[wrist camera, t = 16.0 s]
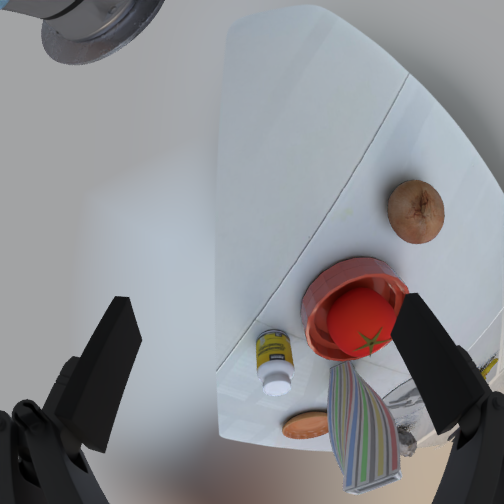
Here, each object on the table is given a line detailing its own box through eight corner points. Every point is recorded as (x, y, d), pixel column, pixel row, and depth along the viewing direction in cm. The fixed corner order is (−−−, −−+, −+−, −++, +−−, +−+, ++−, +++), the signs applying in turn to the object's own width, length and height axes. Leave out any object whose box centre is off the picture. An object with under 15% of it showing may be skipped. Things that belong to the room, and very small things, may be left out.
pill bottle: (290, 327, 50) (299, 376, 39) (287, 351, 53) (294, 397, 42) (255, 328, 50) (257, 378, 39) (255, 352, 53) (257, 399, 42)
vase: (325, 392, 61) (348, 498, 34) (305, 366, 55) (328, 495, 29) (375, 370, 58) (412, 474, 31) (362, 340, 52) (410, 466, 26)
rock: (379, 436, 77) (405, 456, 64) (397, 418, 79) (423, 437, 66) (381, 445, 84) (404, 463, 71) (397, 430, 86) (420, 446, 73)
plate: (359, 424, 72) (360, 427, 71) (402, 373, 60) (403, 377, 59) (419, 413, 75) (420, 416, 73) (462, 364, 62) (464, 367, 61)
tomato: (348, 336, 50) (363, 376, 41) (308, 308, 47) (320, 352, 37) (391, 299, 47) (415, 336, 37) (355, 264, 43) (380, 302, 34)
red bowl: (306, 254, 43) (314, 274, 38) (408, 254, 43) (424, 271, 38) (294, 342, 52) (299, 364, 46) (381, 335, 52) (391, 354, 47)
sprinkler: (468, 410, 68) (466, 399, 61) (460, 398, 75) (457, 385, 68) (501, 380, 64) (504, 364, 56) (493, 369, 71) (494, 351, 63)
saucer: (297, 436, 73) (298, 443, 70) (270, 421, 67) (271, 429, 64) (343, 418, 69) (345, 426, 66) (321, 401, 63) (323, 410, 60)
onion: (380, 183, 41) (393, 173, 31) (431, 185, 38) (454, 177, 28) (382, 241, 42) (396, 247, 32) (432, 241, 39) (456, 247, 29)
